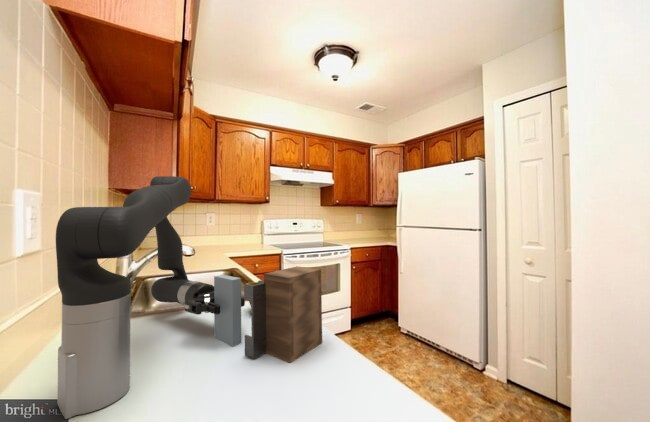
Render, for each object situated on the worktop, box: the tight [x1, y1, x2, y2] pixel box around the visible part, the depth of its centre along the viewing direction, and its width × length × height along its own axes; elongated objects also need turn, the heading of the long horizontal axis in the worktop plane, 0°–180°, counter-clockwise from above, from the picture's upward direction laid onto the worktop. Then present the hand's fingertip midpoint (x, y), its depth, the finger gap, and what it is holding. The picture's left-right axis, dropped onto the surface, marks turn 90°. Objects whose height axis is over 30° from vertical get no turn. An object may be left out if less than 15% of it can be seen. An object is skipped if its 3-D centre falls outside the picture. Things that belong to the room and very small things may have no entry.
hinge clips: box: [243, 280, 267, 361], centre depth 61 cm, size 5×3×16 cm
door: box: [213, 274, 242, 347], centre depth 68 cm, size 2×8×16 cm, turn 53°
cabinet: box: [263, 265, 323, 364], centre depth 64 cm, size 11×8×18 cm
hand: (231, 306), depth 67 cm, fingers open, 6 cm apart
